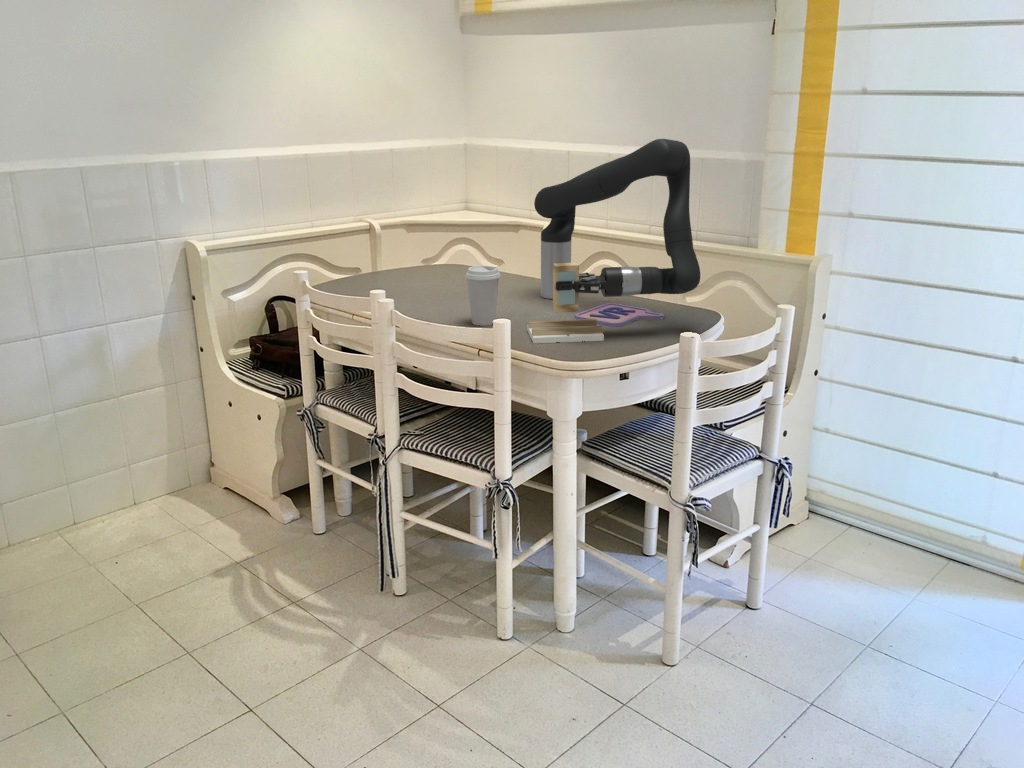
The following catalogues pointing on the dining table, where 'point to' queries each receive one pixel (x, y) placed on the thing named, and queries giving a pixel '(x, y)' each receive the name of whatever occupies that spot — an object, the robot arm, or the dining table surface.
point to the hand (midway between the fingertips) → (555, 284)
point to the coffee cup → (483, 293)
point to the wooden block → (565, 298)
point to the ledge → (565, 331)
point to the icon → (617, 314)
